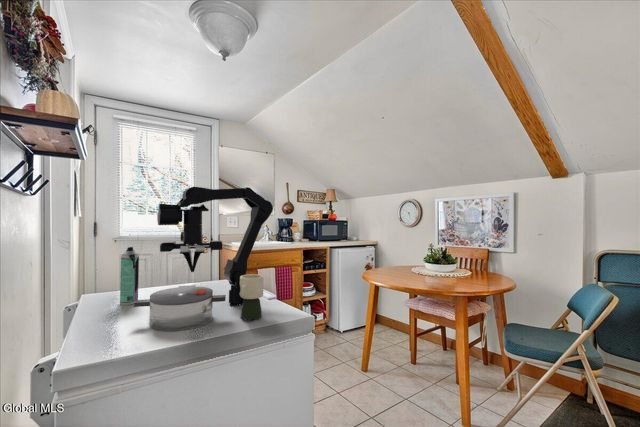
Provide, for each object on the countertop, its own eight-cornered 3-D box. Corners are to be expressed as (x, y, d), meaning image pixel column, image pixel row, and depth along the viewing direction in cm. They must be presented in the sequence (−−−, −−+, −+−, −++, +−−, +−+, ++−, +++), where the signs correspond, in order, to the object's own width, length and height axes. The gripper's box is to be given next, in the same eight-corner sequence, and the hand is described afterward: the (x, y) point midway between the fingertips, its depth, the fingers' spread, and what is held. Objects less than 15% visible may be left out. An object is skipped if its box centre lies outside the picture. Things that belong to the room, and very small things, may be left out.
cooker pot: (225, 309, 101) (225, 288, 101) (224, 326, 85) (225, 302, 85) (143, 315, 94) (144, 292, 94) (125, 335, 78) (126, 308, 78)
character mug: (250, 312, 99) (250, 272, 99) (269, 314, 97) (270, 273, 97) (231, 323, 88) (231, 278, 89) (252, 325, 86) (253, 280, 87)
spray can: (141, 301, 109) (142, 246, 110) (127, 305, 104) (128, 248, 105) (130, 300, 111) (131, 246, 112) (116, 304, 106) (117, 247, 106)
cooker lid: (214, 287, 102) (214, 279, 102) (210, 302, 84) (211, 293, 84) (158, 290, 97) (159, 282, 98) (142, 307, 79) (142, 297, 79)
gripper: (222, 224, 111) (222, 266, 110) (165, 224, 105) (165, 269, 104) (222, 224, 100) (222, 271, 100) (159, 225, 94) (159, 275, 94)
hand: (192, 271), depth 100 cm, fingers closed
